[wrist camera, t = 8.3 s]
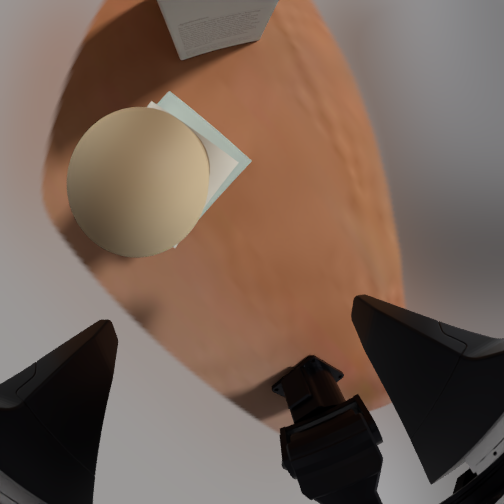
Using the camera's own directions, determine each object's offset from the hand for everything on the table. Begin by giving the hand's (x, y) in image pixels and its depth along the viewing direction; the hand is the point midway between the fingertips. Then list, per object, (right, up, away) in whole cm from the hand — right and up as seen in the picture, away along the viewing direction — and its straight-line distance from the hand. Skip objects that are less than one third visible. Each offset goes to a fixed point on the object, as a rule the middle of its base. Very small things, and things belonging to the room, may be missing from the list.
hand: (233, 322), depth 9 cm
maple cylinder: (-4, +6, +3) cm, 8 cm away
